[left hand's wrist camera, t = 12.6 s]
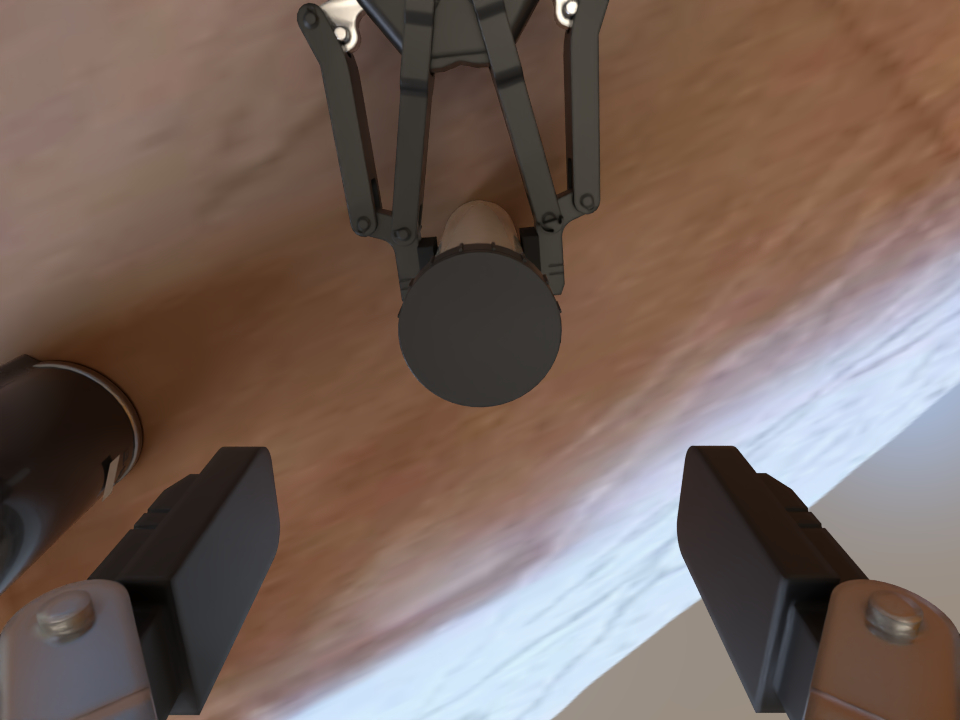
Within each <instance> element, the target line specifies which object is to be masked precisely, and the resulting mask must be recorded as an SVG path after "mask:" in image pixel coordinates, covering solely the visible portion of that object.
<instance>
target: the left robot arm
mask: <svg viewBox="0 0 960 720" xmlns="http://www.w3.org/2000/svg"><path fill="white" fill-rule="evenodd" d="M141 448H142V429H141V424H140V421H139V418H138V416H137V413H136V411H135V409H134V407H133V406H132V404H131V403H130V401H129V400H128V398H127V397H126V396H125V395H124V393H123V392H122V391H121V390H120V389H119V388H118V387H117V386H116V385H114V384H113V383H112V382H111V381H110V380H108V379H107V378H105V377H104V376H102V375H101V374H99V373H97V372H95V371H93V370H91V369H89V368H87V367H84V366H81V365H78V364H74V363H69V362H63V361H44V362H39V361H37V360H34V359H33V358H31V357H29V356H28V355H21V356H19V357H17V358H15V359H13V360H11V361H9V362H7V363H5V364H3V365H1V366H0V595H1V594H3V593H4V592H5V591H6V590H7V589H8V588H9V587H10V586H11V585H12V584H13V583H14V582H15V581H16V580H17V579H18V578H19V577H20V576H21V575H22V574H23V573H24V572H25V571H26V570H27V569H28V568H29V567H30V566H31V565H32V564H33V563H34V562H35V561H36V560H37V559H38V558H39V557H40V556H41V555H42V554H43V553H45V552H46V551H47V550H48V549H49V548H50V547H51V546H52V545H53V544H54V543H55V542H56V541H57V540H58V539H59V538H60V537H61V536H62V535H63V534H64V533H65V532H66V531H67V530H68V529H69V528H70V527H71V526H72V525H73V524H74V523H75V522H76V521H77V520H78V519H79V518H80V517H81V516H82V515H83V514H84V513H86V512H87V511H88V510H89V509H90V508H91V507H92V506H93V505H94V504H95V503H96V502H97V501H98V500H99V499H100V498H101V497H102V496H103V495H104V496H103V500H104V499H105V498H106V497H107V496H108V495H109V494H110V493H111V492H112V489H113V486H114V485H115V484H116V483H117V482H119V481H120V480H121V479H122V478H123V477H124V476H125V475H126V474H127V473H128V472H129V471H130V470H131V469H132V468H133V467H134V465H135V464H136V462H137V460H138V458H139V455H140V452H141ZM103 500H102V501H103ZM279 535H280V520H279V512H278V505H277V497H276V490H275V482H274V475H273V468H272V460H271V456H270V453H269V450H268V449H267V448H266V447H222V448H220V449H219V450H218V452H217V453H216V454H215V455H214V457H213V458H212V459H211V460H210V462H209V463H208V464H207V465H206V466H205V468H204V469H203V470H202V471H201V473H200V474H190V475H188V476H186V477H185V478H183V479H182V480H180V481H178V482H177V483H175V484H174V485H172V486H170V487H169V488H167V489H166V490H164V491H163V492H162V494H161V495H160V496H159V497H158V498H157V499H156V500H155V502H154V503H153V504H152V505H151V506H150V507H149V509H148V513H144V514H143V515H142V517H141V518H140V519H139V520H138V521H137V522H136V524H135V525H134V529H130V530H129V532H128V533H127V534H126V535H125V536H124V537H123V539H122V540H121V541H120V542H119V543H118V544H117V545H116V547H115V548H114V549H113V550H112V551H111V552H110V554H109V555H108V556H107V557H106V558H105V559H104V560H103V562H102V563H101V564H100V565H99V566H98V567H97V569H96V570H95V571H94V572H93V573H92V574H91V575H90V577H89V578H88V579H87V580H85V581H80V582H75V583H71V584H68V585H64V586H62V587H59V588H56V589H54V590H52V591H49V592H47V593H45V594H43V595H41V596H40V597H38V598H36V599H34V600H33V601H31V602H30V603H28V604H27V605H25V606H24V607H23V608H21V609H20V610H19V611H18V612H17V613H16V614H15V615H14V616H13V617H12V618H11V619H10V620H9V621H8V623H7V624H6V625H5V627H4V628H3V631H2V633H1V634H0V720H166V719H167V717H168V715H200V713H201V710H202V708H203V706H204V704H205V702H206V700H207V698H208V696H209V694H210V692H211V689H212V687H213V685H214V683H215V681H216V679H217V677H218V675H219V673H220V671H221V668H222V666H223V664H224V662H225V660H226V658H227V656H228V654H229V652H230V650H231V647H232V645H233V643H234V641H235V639H236V637H237V635H238V633H239V631H240V629H241V626H242V624H243V622H244V620H245V618H246V616H247V614H248V612H249V610H250V608H251V606H252V603H253V601H254V599H255V597H256V595H257V593H258V591H259V589H260V587H261V585H262V582H263V580H264V578H265V576H266V574H267V572H268V570H269V568H270V566H271V564H272V561H273V559H274V557H275V555H276V552H277V548H278V543H279ZM677 536H678V543H679V548H680V551H681V554H682V557H683V559H684V561H685V563H686V565H687V567H688V569H689V572H690V574H691V576H692V578H693V580H694V582H695V584H696V586H697V589H698V591H699V593H700V595H701V597H702V599H703V601H704V603H705V606H706V608H707V610H708V612H709V614H710V616H711V618H712V620H713V623H714V625H715V627H716V629H717V631H718V633H719V635H720V637H721V640H722V642H723V644H724V646H725V648H726V650H727V652H728V655H729V657H730V659H731V661H732V663H733V665H734V667H735V669H736V672H737V674H738V676H739V678H740V680H741V682H742V684H743V686H744V689H745V691H746V693H747V695H748V697H749V699H750V701H751V703H752V705H753V708H754V710H755V712H756V713H787V715H788V717H789V719H790V720H960V634H959V633H958V631H957V628H956V627H955V625H954V624H953V623H952V621H951V620H950V619H949V618H948V617H947V616H946V615H945V614H944V613H943V612H942V611H941V610H940V609H939V608H937V607H936V606H935V605H933V604H932V603H930V602H929V601H927V600H926V599H924V598H922V597H920V596H919V595H917V594H915V593H913V592H911V591H908V590H906V589H904V588H901V587H898V586H896V585H892V584H889V583H885V582H880V581H875V580H869V579H868V578H867V576H866V575H865V574H864V573H863V572H862V571H861V569H860V568H859V567H858V566H857V565H856V564H855V562H854V561H853V560H852V559H851V558H850V557H849V555H848V554H847V553H846V552H845V551H844V550H843V548H842V547H841V546H840V545H839V544H838V543H837V541H836V540H835V539H834V538H833V537H832V536H831V534H830V533H829V532H828V531H827V530H826V529H825V528H822V526H821V523H820V522H819V520H818V519H817V518H816V517H815V516H814V515H813V513H812V512H808V508H807V506H806V505H805V504H804V503H803V502H802V501H801V499H800V498H799V497H798V496H797V495H796V494H795V492H794V491H793V490H792V489H791V488H789V487H787V486H786V485H784V484H783V483H781V482H779V481H778V480H776V479H775V478H773V477H771V476H770V475H768V474H767V473H756V472H755V470H754V469H753V468H752V467H751V465H750V464H749V463H748V462H747V460H746V459H745V458H744V457H743V455H742V454H741V453H740V452H739V450H738V449H737V448H736V447H734V446H691V447H689V449H688V451H687V453H686V457H685V464H684V472H683V479H682V487H681V494H680V502H679V509H678V517H677Z"/></svg>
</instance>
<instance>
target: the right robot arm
mask: <svg viewBox="0 0 960 720" xmlns="http://www.w3.org/2000/svg"><path fill="white" fill-rule="evenodd" d="M538 2H539V0H328V1H327V2H325V3H323V4H322V5H320V6H317V5H316V4H313V3H307V4H304V5H303V6H302V7H301V8H300V9H299V11H298V14H297V21H298V24H299V27H300V29H301V31H302V33H303V34H304V36H305V38H306V40H307V42H308V44H309V45H310V47H311V49H312V51H313V53H314V55H315V57H316V58H317V60H318V62H319V64H320V66H321V72H322V77H323V82H324V87H325V93H326V98H327V103H328V108H329V113H330V119H331V124H332V129H333V134H334V140H335V145H336V150H337V155H338V160H339V166H340V171H341V176H342V181H343V187H344V192H345V197H346V202H347V207H348V213H349V218H350V223H351V227H352V229H353V231H354V232H355V233H356V234H357V235H359V236H362V237H367V236H370V237H374V238H378V239H382V240H384V241H387V242H388V243H389V244H390V245H391V246H392V247H393V249H394V251H395V256H396V263H397V269H398V276H399V283H400V289H401V296H402V301H403V302H404V300H405V297H406V295H407V293H408V290H409V288H407V287H408V285H409V283H410V281H411V279H412V278H414V279H415V277H416V275H417V274H418V273H419V272H420V270H421V269H422V268H423V267H424V266H425V265H426V264H427V263H428V262H429V261H430V259H431V257H432V256H433V255H434V256H435V255H436V252H437V249H438V246H437V238H436V237H428V238H422V239H421V232H420V231H421V228H422V226H421V220H422V208H423V197H424V185H425V173H426V162H427V150H428V138H429V126H430V115H431V103H432V95H433V88H434V77H435V72H444V71H447V70H449V69H452V68H454V67H456V66H459V65H466V66H471V67H477V68H481V67H489V70H490V73H491V77H492V80H493V83H494V86H495V89H496V92H497V96H498V99H499V102H500V106H501V109H502V113H503V116H504V119H505V123H506V126H507V130H508V133H509V136H510V140H511V143H512V147H513V150H514V153H515V157H516V160H517V164H518V167H519V170H520V174H521V177H522V181H523V184H524V187H525V191H526V194H527V198H528V201H529V204H530V208H531V211H532V215H533V218H534V227H527V228H519V229H520V242H521V247H522V250H523V253H524V254H525V257H526V258H527V259H528V260H529V261H530V262H532V263H533V264H534V265H535V266H536V267H537V268H538V269H539V271H540V272H541V273H542V274H546V276H547V278H548V280H549V282H550V284H549V286H550V288H551V290H552V293H553V295H561V293H562V290H563V287H564V265H563V246H562V233H563V229H564V228H565V226H566V225H567V224H568V223H569V222H570V221H572V220H574V219H576V218H578V217H580V216H582V215H584V214H590V213H593V212H594V211H596V210H597V208H598V207H599V204H600V130H599V32H600V28H601V25H602V22H603V19H604V15H605V12H606V9H607V6H608V2H609V0H552V2H553V6H554V20H555V22H556V24H557V25H558V26H559V27H560V28H562V29H565V30H566V32H565V39H564V55H563V57H564V92H565V128H566V164H567V190H566V191H564V192H562V193H560V194H558V195H556V193H555V189H554V185H553V182H552V178H551V175H550V171H549V167H548V164H547V160H546V157H545V153H544V149H543V146H542V142H541V139H540V135H539V131H538V128H537V124H536V121H535V117H534V113H533V110H532V106H531V103H530V99H529V95H528V92H527V88H526V85H525V81H524V77H523V71H522V67H521V63H520V59H519V56H518V52H517V48H516V45H515V44H516V42H517V40H518V39H519V37H520V35H521V33H522V31H523V29H524V27H525V26H526V24H527V22H528V20H529V18H530V16H531V15H532V13H533V11H534V9H535V7H536V5H537V3H538ZM366 13H367V15H368V16H369V17H370V18H371V19H372V21H373V22H374V23H375V24H376V25H377V27H378V28H379V29H380V30H381V31H382V32H383V34H384V35H385V36H386V37H387V38H388V40H389V41H390V42H391V43H392V44H393V46H394V47H395V48H396V49H397V50H398V51H399V53H400V54H401V55H402V57H401V72H400V107H399V122H398V136H397V151H396V165H395V180H394V195H393V209H392V211H388V210H385V209H382V203H381V197H380V191H379V186H378V180H377V174H376V168H375V162H374V157H373V151H372V145H371V139H370V133H369V128H368V122H367V116H366V110H365V104H364V98H363V93H362V87H361V81H360V76H359V72H358V67H357V64H356V61H355V58H354V56H353V54H352V53H353V52H355V51H356V50H357V49H358V48H359V47H360V44H361V35H360V31H359V23H360V20H361V18H362V17H363V16H364V15H365V14H366Z"/></svg>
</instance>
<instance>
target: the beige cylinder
mask: <svg viewBox="0 0 960 720" xmlns="http://www.w3.org/2000/svg"><path fill="white" fill-rule="evenodd" d="M492 242H495V245H499V246H503V247H506V248H509V249H511V250H513V251H515V252H518V253H519V254H521V253H523V250H522V247H521V244H520V241H519V238H518V235H517V232H516V230H515V227H514V224H513V221H512V219H511V217H510V216H509V215H508V213H507V212H506V211H505V210H504V209H503V208H501V207H500V206H498V205H497V204H495V203H492V202H489V201H484V200H477V201H471V202H468V203H465V204H463V205H461V206H460V207H459V208H457V209H456V210H455V211H454V212H453V213H452V215H451V216H450V217H449V219H448V221H447V223H446V226H445V229H444V232H443V235H442V238H441V241H440V244H439V247H438V249H437V252H436V255H435V257H436V256H437V255H439V254H441V253H443V252H445V251H446V250H449V249H451V248H454V247H457V246H459V245H460V243H463V245H465V244H473V243H488V244H492Z"/></svg>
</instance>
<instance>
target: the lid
mask: <svg viewBox="0 0 960 720" xmlns="http://www.w3.org/2000/svg"><path fill="white" fill-rule="evenodd" d="M549 284H550V282H549V280H548V278H547V276H546V274H542V273H541V272H540V271H539V269H538V268H537V267H536V266H535V265H534V264H533V263H532V262H530V261H529V260H528V259H527V258H526V257H525V254H524V253H521V254H519V253H518V252H515V251H513V250H511V249H509V248H506V247H503V246H499V245H495V242H492V244H488V243H473V244H465V245H463V243H460V245H459V246H457V247H454V248H451V249H449V250H446V251H445V252H443V253H441V254H439V255H437V256H436V257H435V256H434V255H433V256H432V257H431V259H430V261H429V262H428V263H427V264H426V265H425V266H424V267H423V268H422V269H421V270H420V272H419V273H418V274H417V275H416V277H415V279H414V278H412V279H411V281H410V283H409V285H408V287H407V288H409V290H408V293H407V295H406V297H405V300H404V302H403V304H402V307H401V309H400V311H399V314H398V318H399V324H398V336H399V342H400V347H401V351H402V354H403V357H404V359H405V361H406V363H407V365H408V367H409V369H410V370H411V372H412V373H413V374H414V376H415V377H416V378H417V379H418V381H419V382H420V383H421V384H423V385H424V386H425V387H426V388H427V389H428V390H430V391H431V392H432V393H434V394H435V395H437V396H439V397H441V398H443V399H445V400H447V401H450V402H452V403H456V404H459V405H463V406H470V407H490V406H496V405H501V404H504V403H507V402H510V401H513V400H515V399H517V398H519V397H521V396H523V395H524V394H526V393H527V392H529V391H530V390H532V389H533V388H534V387H535V386H536V385H538V384H539V382H540V381H541V380H542V379H543V378H544V377H545V376H546V374H547V373H548V371H549V370H550V369H551V367H552V365H553V363H554V361H555V359H556V356H557V354H558V351H559V347H560V343H561V333H562V327H561V317H560V313H561V309H560V306H559V304H558V302H557V301H556V300H555V297H554V295H553V293H552V290H551V288H550V286H549Z"/></svg>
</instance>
